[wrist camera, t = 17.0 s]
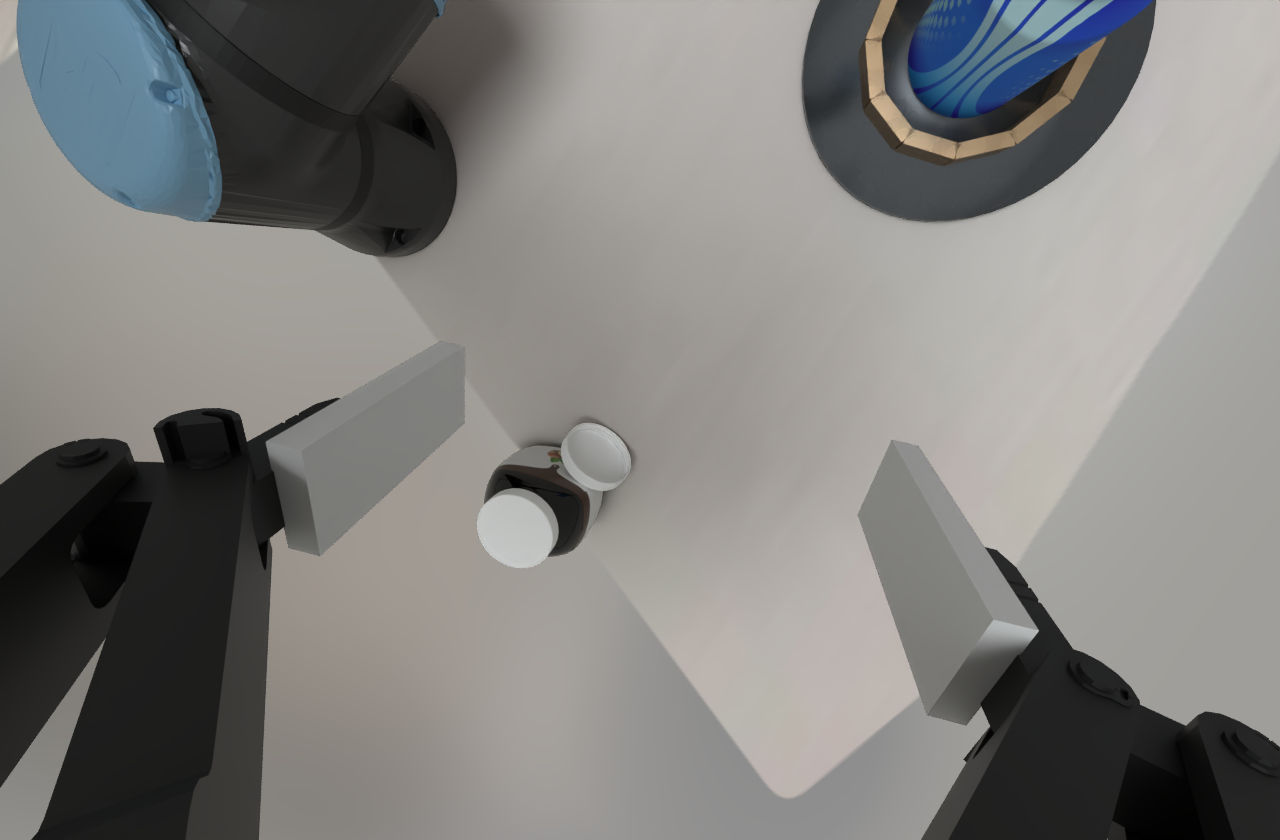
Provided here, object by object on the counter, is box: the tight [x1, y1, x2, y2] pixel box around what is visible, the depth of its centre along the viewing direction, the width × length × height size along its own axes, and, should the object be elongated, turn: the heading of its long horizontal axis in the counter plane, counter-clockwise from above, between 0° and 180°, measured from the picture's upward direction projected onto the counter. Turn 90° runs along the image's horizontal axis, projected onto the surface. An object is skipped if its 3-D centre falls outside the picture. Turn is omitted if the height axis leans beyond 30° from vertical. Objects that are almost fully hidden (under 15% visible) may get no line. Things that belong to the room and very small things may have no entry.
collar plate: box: [802, 0, 1156, 222], centre depth 35 cm, size 22×22×4 cm
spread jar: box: [477, 423, 631, 568], centre depth 47 cm, size 12×11×12 cm
